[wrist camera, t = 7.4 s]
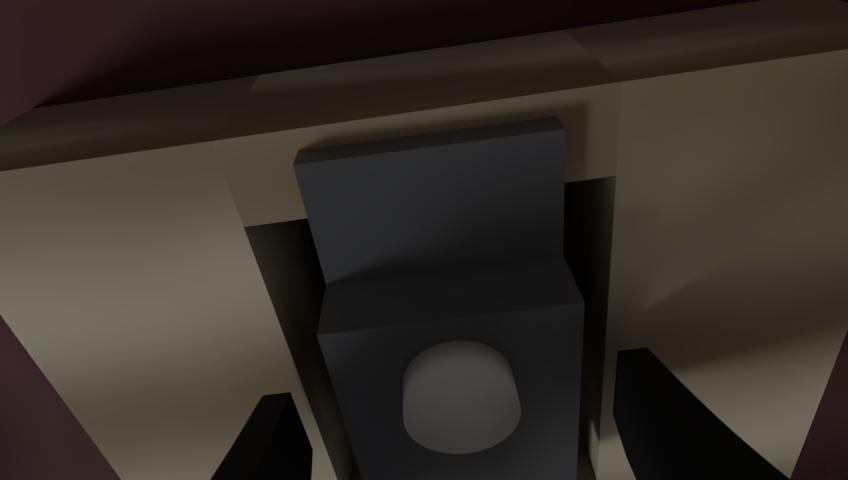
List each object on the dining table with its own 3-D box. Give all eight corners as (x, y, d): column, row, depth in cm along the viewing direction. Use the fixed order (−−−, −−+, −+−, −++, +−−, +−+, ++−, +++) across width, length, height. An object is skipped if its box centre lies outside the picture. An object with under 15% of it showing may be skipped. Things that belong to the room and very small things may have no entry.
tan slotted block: (718, 390, 19) (783, 494, 16) (217, 451, 20) (182, 563, 17) (810, -8, 12) (962, 32, 9) (30, 108, 13) (-95, 185, 10)
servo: (526, 401, 19) (579, 618, 14) (399, 415, 19) (400, 636, 14) (514, 55, 13) (609, 192, 7) (323, 81, 13) (265, 236, 7)
